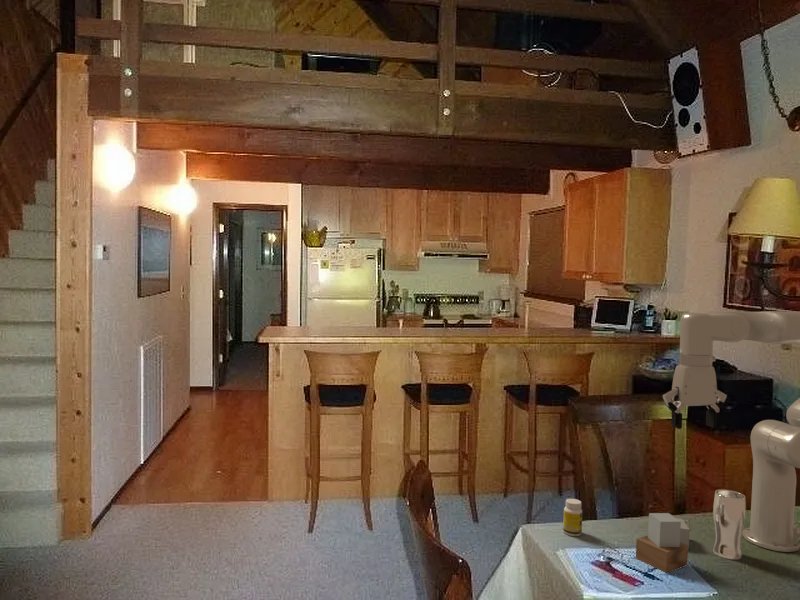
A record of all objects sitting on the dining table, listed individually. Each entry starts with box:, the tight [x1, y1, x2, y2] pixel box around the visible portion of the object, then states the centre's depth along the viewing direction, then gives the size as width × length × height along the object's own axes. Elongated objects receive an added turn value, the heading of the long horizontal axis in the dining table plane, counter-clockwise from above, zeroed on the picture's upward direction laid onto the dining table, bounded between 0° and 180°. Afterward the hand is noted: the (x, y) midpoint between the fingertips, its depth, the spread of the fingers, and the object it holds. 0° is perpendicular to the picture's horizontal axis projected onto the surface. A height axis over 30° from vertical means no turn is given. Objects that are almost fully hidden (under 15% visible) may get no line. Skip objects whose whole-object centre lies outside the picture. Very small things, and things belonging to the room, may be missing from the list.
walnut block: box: [635, 535, 689, 574], centre depth 137 cm, size 8×8×5 cm
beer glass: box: [712, 489, 747, 561], centre depth 143 cm, size 7×7×15 cm
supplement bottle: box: [562, 498, 583, 537], centre depth 152 cm, size 5×5×8 cm
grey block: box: [675, 517, 691, 549], centre depth 150 cm, size 7×7×5 cm
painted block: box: [647, 512, 681, 547], centre depth 137 cm, size 5×5×6 cm
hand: (694, 427), depth 149 cm, fingers open, 9 cm apart
